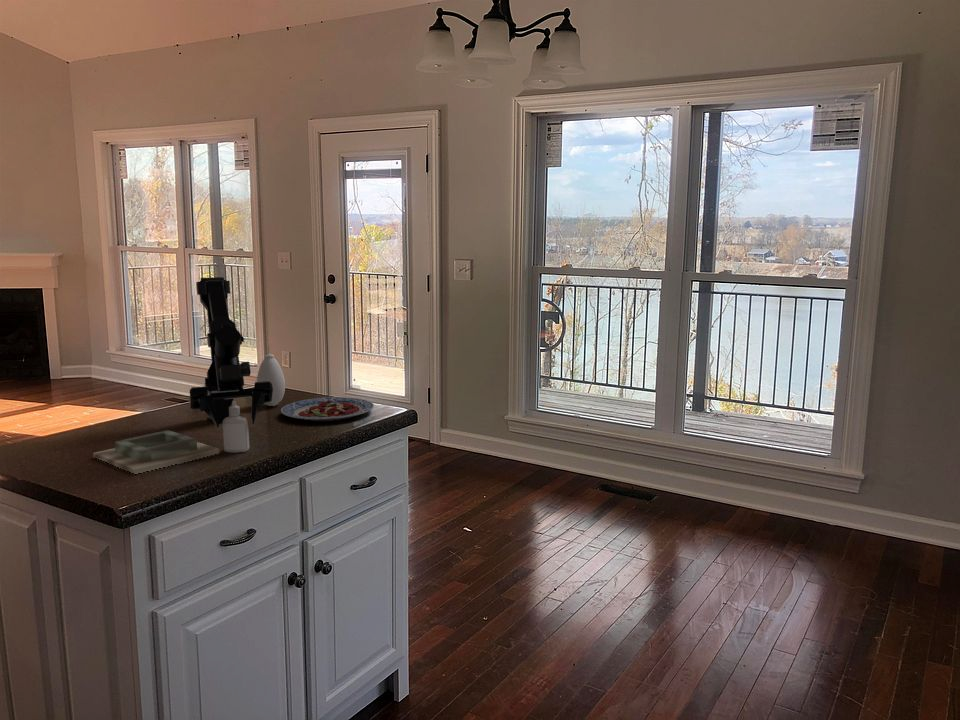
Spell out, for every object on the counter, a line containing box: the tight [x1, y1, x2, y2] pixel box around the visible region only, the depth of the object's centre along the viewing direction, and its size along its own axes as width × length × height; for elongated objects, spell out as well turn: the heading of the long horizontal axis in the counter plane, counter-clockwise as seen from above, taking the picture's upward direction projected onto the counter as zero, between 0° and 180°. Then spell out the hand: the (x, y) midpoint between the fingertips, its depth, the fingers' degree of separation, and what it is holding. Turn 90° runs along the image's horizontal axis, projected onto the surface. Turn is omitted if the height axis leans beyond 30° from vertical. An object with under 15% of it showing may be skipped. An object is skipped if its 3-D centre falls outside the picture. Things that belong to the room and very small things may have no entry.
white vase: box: [256, 345, 286, 407], centre depth 226 cm, size 8×8×18 cm
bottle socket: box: [93, 429, 220, 475], centre depth 178 cm, size 20×20×4 cm
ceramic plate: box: [280, 396, 375, 422], centre depth 217 cm, size 26×26×3 cm
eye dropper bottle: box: [222, 400, 250, 453], centre depth 180 cm, size 4×6×12 cm
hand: (235, 424), depth 179 cm, fingers open, 8 cm apart
